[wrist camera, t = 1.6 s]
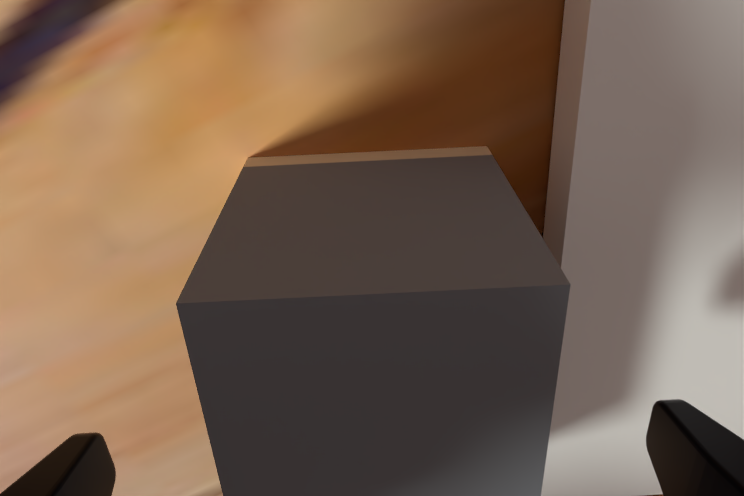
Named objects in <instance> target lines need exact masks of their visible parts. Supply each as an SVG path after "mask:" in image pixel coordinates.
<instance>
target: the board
mask: <svg viewBox="0 0 744 496" xmlns="http://www.w3.org/2000/svg"><path fill="white" fill-rule="evenodd" d="M543 240H544V241H545V243H546V245H547V246H548V248H549V250H550V251H551V253H552V255H553V256H554V258H555V260H556V261H557V263H558V264H559V266H560V268H561V269H562V271H563V273H564V274H565V276H566V278H567V279H568V281H569V283H570V284H571V285H570V292H569V299H568V307H567V314H566V321H565V328H564V335H563V342H562V349H561V356H560V363H559V370H558V378H557V385H556V392H555V399H554V406H553V413H552V420H551V427H550V434H549V441H548V449H547V456H546V463H545V470H544V477H543V484H542V491H541V496H642V495H660V494H663V493H662V490H661V487H660V484H659V482H658V479H657V476H656V473H655V471H654V468H653V465H652V462H651V460H650V457H649V454H648V451H647V447H646V434H647V430H648V425H649V421H650V417H651V412H652V408H653V405H654V404H655V402H656V401H659V400H672V399H681V400H684V401H686V402H688V403H689V404H691V405H692V406H694V407H695V408H697V409H698V410H700V411H701V412H703V413H704V414H706V415H707V416H709V417H710V418H712V419H713V420H715V421H716V422H718V423H720V424H721V425H723V426H724V427H726V428H727V429H729V430H730V431H732V432H733V433H735V434H736V435H738V436H739V437H741V438H742V439H744V0H565V5H564V16H563V27H562V38H561V49H560V59H559V70H558V81H557V92H556V103H555V113H554V124H553V135H552V146H551V157H550V168H549V178H548V189H547V200H546V211H545V222H544V232H543Z"/></svg>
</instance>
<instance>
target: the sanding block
mask: <svg viewBox="0 0 744 496" xmlns="http://www.w3.org/2000/svg"><path fill="white" fill-rule="evenodd" d="M570 285H571V284H570V283H569V281H568V279H567V278H566V276H565V274H564V273H563V271H562V269H561V268H560V266H559V264H558V263H557V261H556V260H555V258H554V256H553V255H552V253H551V251H550V250H549V248H548V246H547V245H546V243H545V241H544V240H543V238H542V236H541V235H540V233H539V231H538V230H537V228H536V226H535V225H534V223H533V221H532V220H531V218H530V216H529V215H528V213H527V211H526V210H525V208H524V207H523V205H522V203H521V202H520V200H519V198H518V197H517V195H516V193H515V192H514V190H513V188H512V187H511V185H510V183H509V182H508V180H507V178H506V177H505V175H504V173H503V172H502V170H501V168H500V167H499V165H498V163H497V162H496V160H495V158H494V157H493V155H492V154H491V152H490V150H489V149H488V147H487V146H478V147H457V148H437V149H416V150H396V151H375V152H354V153H334V154H313V155H293V156H272V157H251V158H248V159H247V161H246V163H245V165H244V167H243V169H242V171H241V173H240V175H239V177H238V179H237V181H236V183H235V185H234V187H233V189H232V191H231V193H230V195H229V197H228V199H227V201H226V203H225V205H224V207H223V209H222V211H221V213H220V215H219V217H218V219H217V221H216V223H215V225H214V228H213V230H212V232H211V234H210V236H209V238H208V240H207V242H206V244H205V246H204V248H203V250H202V252H201V254H200V256H199V258H198V260H197V262H196V264H195V266H194V268H193V270H192V272H191V274H190V276H189V278H188V280H187V282H186V284H185V286H184V288H183V290H182V292H181V294H180V296H179V298H178V301H177V303H176V306H177V310H178V314H179V318H180V322H181V326H182V330H183V334H184V338H185V342H186V346H187V350H188V354H189V358H190V362H191V366H192V370H193V374H194V379H195V383H196V387H197V391H198V395H199V399H200V403H201V407H202V411H203V415H204V419H205V423H206V427H207V431H208V435H209V439H210V443H211V447H212V452H213V456H214V460H215V464H216V468H217V472H218V476H219V480H220V484H221V488H222V492H223V496H541V491H542V484H543V477H544V470H545V463H546V456H547V449H548V441H549V434H550V427H551V420H552V413H553V406H554V399H555V392H556V385H557V378H558V370H559V363H560V356H561V349H562V342H563V335H564V328H565V321H566V314H567V307H568V299H569V292H570Z"/></svg>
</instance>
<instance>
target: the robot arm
mask: <svg viewBox="0 0 744 496" xmlns="http://www.w3.org/2000/svg"><path fill="white" fill-rule="evenodd" d="M646 447H647V451H648V454H649V457H650V460H651V462H652V465H653V468H654V471H655V473H656V476H657V479H658V482H659V484H660V487H661V490H662V493H663V495H664V496H744V439H742V438H741V437H739V436H738V435H736V434H735V433H733V432H732V431H730V430H729V429H727V428H726V427H724V426H723V425H721V424H720V423H718V422H716V421H715V420H713V419H712V418H710V417H709V416H707V415H706V414H704V413H703V412H701V411H700V410H698V409H697V408H695V407H694V406H692V405H691V404H689V403H688V402H686V401H684V400H681V399H672V400H659V401H656V402H655V404H654V405H653V408H652V412H651V417H650V421H649V425H648V430H647V434H646ZM115 477H116V472H115V466H114V463H113V461H112V458H111V455H110V453H109V450H108V448H107V445H106V442H105V440H104V438H103V436H102V435H101V434H99V433H80V434H75V435H72V436H71V437H69V438H68V439H67V440H66V441H64V442H63V443H62V444H61V445H59V446H58V447H57V448H56V449H55V450H53V451H52V452H51V453H50V454H48V455H47V456H46V457H45V458H44V459H42V460H41V461H40V462H39V463H37V464H36V465H35V466H34V467H32V468H31V469H30V470H29V471H28V472H26V473H25V474H24V475H23V476H21V477H20V478H19V479H18V480H17V481H15V482H14V483H13V484H12V485H10V486H9V487H8V488H7V489H6V490H4V491H3V492H2V493H1V494H0V496H111V495H112V491H113V487H114V483H115Z"/></svg>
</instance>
